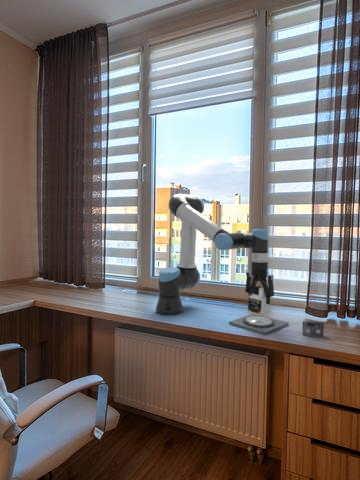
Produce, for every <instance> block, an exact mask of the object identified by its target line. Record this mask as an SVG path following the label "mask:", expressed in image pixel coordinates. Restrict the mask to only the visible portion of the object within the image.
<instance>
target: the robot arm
mask: <svg viewBox="0 0 360 480" xmlns="http://www.w3.org/2000/svg"><path fill="white" fill-rule="evenodd" d="M168 209H169V211H170V213H171V214H172V215H174V216H175V217H176V218H177V219H178V220H180V221H181V227H180V228H181V230H180V245H179V246H180V247H179V248H180V249H179V263H178V264H176V267H170V268H169V267H167V268H164V269H161V270H160V271H159V272H158V299H157V302H156V306H155V312H156V313H157V314H159V313H160V314H159V315H163V314H166V315H165V316H174V314H176V315H180V314H182V313H184V306H183V303H182V299H181V291H184V290H188V289H192V288H194V287H196V286H198V285H199V283H200V280H201V273H200V272H199V270H198V266H197V264H195V262H196V261H195V260H196V259H195V256H196V240H197V231H199V232H200V233H201V234H203V236H205V237H207V238H208V239H209V240H211V241H212V242H213V244H214V246H215V247H216V249H218V250H220V251H228V250H236V249H237V250H238V249H249V250H250V249H251V261H252V262H251V271H248V272H246V274H245V275H246V281H245V290H244V292H245V293H247V294H248V298H249V297H250V296H253V288H254V287H256V286H257V284H258V282H260V284H261V287H263V289H264V293H265V297H264V311H265V312H266V311H269V312H270V304H271V298H272V297H275V289H274V280H273V279H274V275H273V274H269V272H268V271H269V268H268V266H269V264H268V261H269V260H268V259H269V253H268V252H269V231H268V230H267V229H266V228H255V229H254V228H253V229H252V230H251V232H247V233H246V232H233V233H232V232H229V231H226V230H225V229H224V228H222V227H221V226H219V225H218V224H216V223H215V222H214V221H212V220H211V219H209V218H207V217H206V216H205V215H204V214H203V213H204V210H205V203H204V201H203V199H202V198H201V197H199V196H197V195H194V194H187V193H186V194H185V193H177V194H176V193H175V194H174V195H172V197H171V198H170V199H169V201H168Z"/></svg>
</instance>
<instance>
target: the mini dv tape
mask: <svg viewBox="0 0 360 480" xmlns="http://www.w3.org/2000/svg"><path fill="white" fill-rule="evenodd" d="M324 326H325V325H324V322H320V321H318V322H317V321H309V320H308V321H307V320H306V321H305V320H302V332H301V333H302V336H307V337H308V336H309V337H317V338H318V337H321V338H324Z"/></svg>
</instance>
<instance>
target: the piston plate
mask: <svg viewBox="0 0 360 480" xmlns="http://www.w3.org/2000/svg"><path fill="white" fill-rule="evenodd" d="M228 324H229V325H230V326H234V327H237V328H241V329H243V330H247V331H251V332H253V331H254V332H253V333H256V334H260V333H261V334H260V335H263V334H264V336H267V335H269V334H272V333H273V332H275V331H278V330H280V329H283V328H285V327H287V326H289V322H287V321H283V320H279V319H275V318H272V317H267V316H264V315H260V314H256V313H251V314H248V315H245V316H243V317H242V316H241V317H239V318H235V319H233V320H229V322H228ZM271 332H272V333H271ZM266 334H267V335H266Z"/></svg>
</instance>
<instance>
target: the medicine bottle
mask: <svg viewBox="0 0 360 480" xmlns="http://www.w3.org/2000/svg"><path fill="white" fill-rule="evenodd" d="M264 297H266V296H265V293H264V289H263V286H262V285H261V286H259V285H258V286H257V285H256V286H255V287H254V288H253V296H250V297H249V296H248V306H247V307H248V309H247V310H248V312H250V313H252V314H256V315H260V316H262V315H263V314H267V313H269V312H270V310H269V311H266V312H265V311H264Z"/></svg>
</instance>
